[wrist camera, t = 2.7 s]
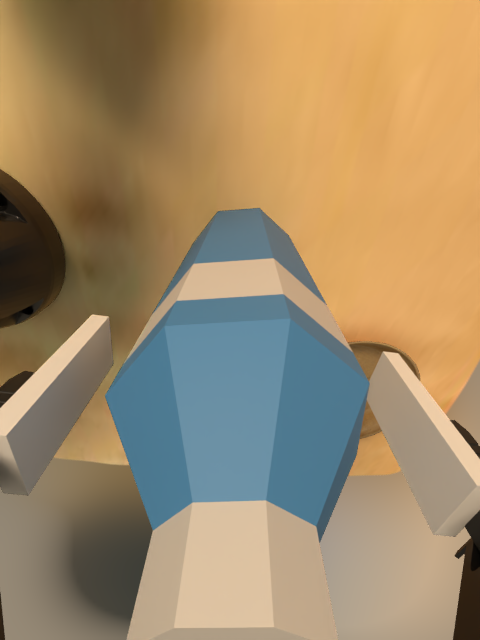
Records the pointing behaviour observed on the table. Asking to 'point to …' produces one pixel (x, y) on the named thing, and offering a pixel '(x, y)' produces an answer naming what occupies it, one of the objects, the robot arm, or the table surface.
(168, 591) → the water bottle
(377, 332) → the table surface
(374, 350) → the plant saucer
